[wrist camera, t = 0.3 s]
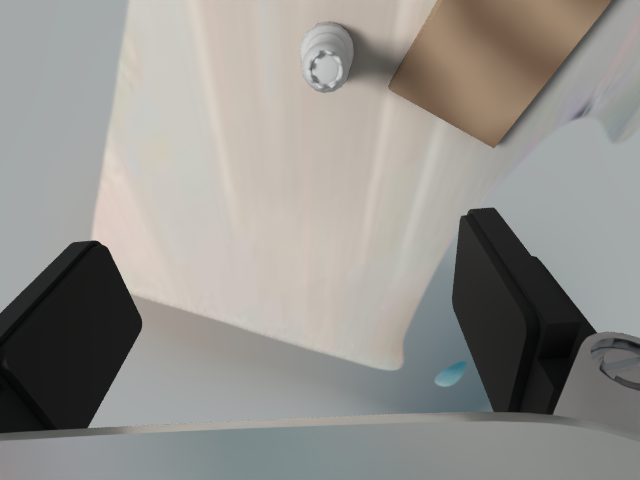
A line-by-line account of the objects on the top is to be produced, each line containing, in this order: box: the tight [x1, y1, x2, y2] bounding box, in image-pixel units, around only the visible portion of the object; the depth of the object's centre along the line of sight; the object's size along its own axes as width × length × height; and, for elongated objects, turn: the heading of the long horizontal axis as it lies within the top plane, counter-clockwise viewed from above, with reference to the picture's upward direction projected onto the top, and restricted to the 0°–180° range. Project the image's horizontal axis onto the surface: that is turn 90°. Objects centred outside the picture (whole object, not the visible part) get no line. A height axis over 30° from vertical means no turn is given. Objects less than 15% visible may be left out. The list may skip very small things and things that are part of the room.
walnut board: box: [389, 0, 612, 148], centre depth 31 cm, size 16×11×2 cm
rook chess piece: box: [300, 22, 354, 93], centre depth 29 cm, size 4×4×8 cm
